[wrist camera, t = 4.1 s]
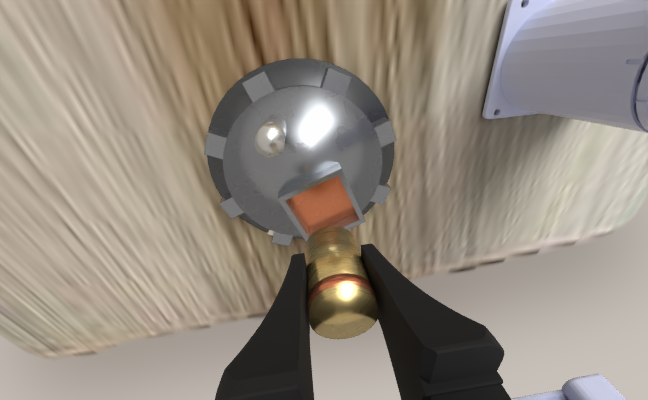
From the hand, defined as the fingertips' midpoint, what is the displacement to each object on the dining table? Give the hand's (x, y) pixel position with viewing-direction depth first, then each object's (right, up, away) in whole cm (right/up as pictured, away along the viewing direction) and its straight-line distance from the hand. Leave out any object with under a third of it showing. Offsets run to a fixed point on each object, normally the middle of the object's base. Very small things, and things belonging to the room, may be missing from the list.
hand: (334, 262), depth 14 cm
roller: (0, +1, +2) cm, 2 cm away
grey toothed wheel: (-2, +7, +6) cm, 9 cm away
